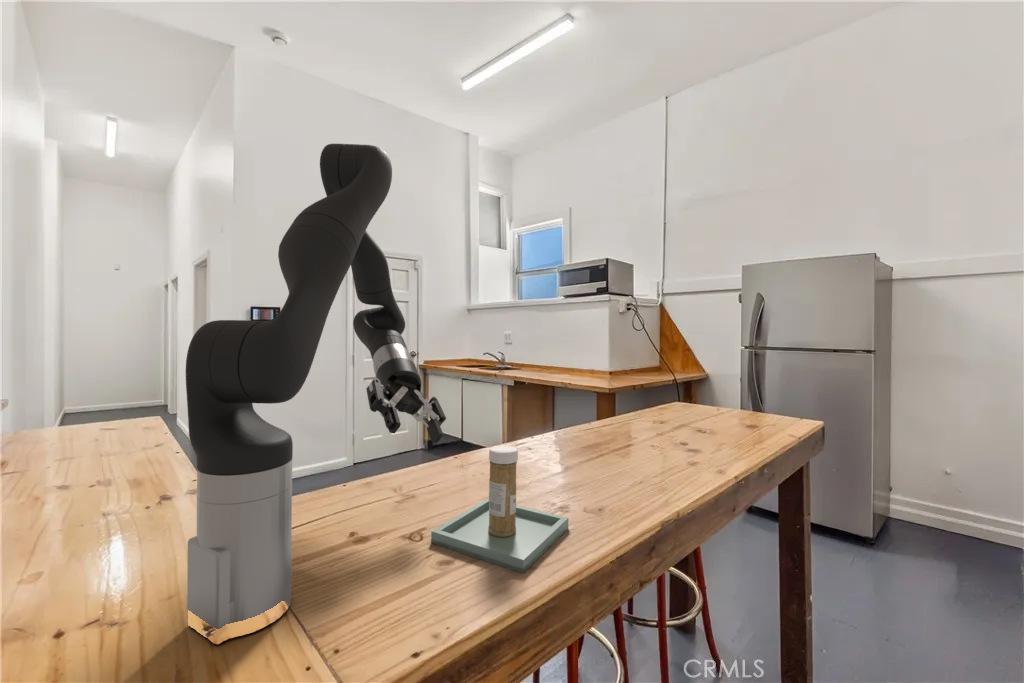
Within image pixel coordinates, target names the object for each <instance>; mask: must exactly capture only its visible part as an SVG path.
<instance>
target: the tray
mask: <svg viewBox="0 0 1024 683" xmlns="http://www.w3.org/2000/svg"><path fill="white" fill-rule="evenodd" d="M515 518H516V523H515V525H516V532H515V533H514V534H513V535H511V536H507V537H498V536H494V535H492V534H490V533H489V531H488V527H489V497H487V498H485V499H483V500H482V501H480V502H478V503H477V504H475V505H474V506H472V507H470V508H468V509H466V510H465V511H463V512H462V513H460V514H458V515H457V516H455V517H453V518H451V519H450V520H448V521H447V522H444V523H443V524H441V525H439V526H438V527H436V528H434V529H433V530H431V534H430V537H431V538H430V541H431V542H430V543H431V544H434V545H437V546H439V547H442V548H445V549H449V550H452V551H454V552H457V553H461V554H464V555H467V556H470V557H472V558H476V559H479V560H482V561H485V562H489V563H490V564H495V565H497V566H500V567H504V568H506V569H510V570H512V571H515V572H519V573H522V574H524V573H525V572H526V571H527V570H528V569H529V568H530V567H531V566H533V564H534V563H535V562H537V560H538V559H539V558H540V557H541V556H542V555H543V554H544V553H545V552H546V551H547V550H549V548H551V546H552V545H554V543H555V542H556V541H557V540H558V539H559V538H560V537H561V536H562V535H564V533H566V531H567V530H568V529H569V517H567V516H563V515H559V514H556V513H555V514H554V513H550V512H547V511H541V510H537V509H534V508H532V507H531V508H530V507H526V506H522V505H518V504H516V517H515Z"/></svg>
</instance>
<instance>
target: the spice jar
mask: <svg viewBox="0 0 1024 683" xmlns="http://www.w3.org/2000/svg"><path fill="white" fill-rule="evenodd" d="M488 453H489V454H488V460H489V487H488V488H489V490H488V498H489V527H488V531H489V533H490V534H492V535H494V536H498V537H507V536H511V535H513V534H514V533H515V532H516V525H515V523H516V518H515V517H516V505H517V462H518V458H519V452H518V448H516V447H515V446H512V445H511V446H510V445H495V446H492V447H490V449H489V452H488Z"/></svg>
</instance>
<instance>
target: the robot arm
mask: <svg viewBox="0 0 1024 683" xmlns="http://www.w3.org/2000/svg"><path fill="white" fill-rule="evenodd" d="M319 172H320V177H321V178H320V179H321V182H322V186H323V188H324V191H325V195H326V196H325V197H323V198H321V199H319V200H316V201H315V202H314V203H312V204H310V205H308V206H307V207H306V208H304V209H303V210H302V211H300V213H299V214H297V216H296V217H295V219H294V220H293V222H292V223H291V225H290V226H289V228H288V229H287V230H286V232H285V234H284V235H283V237H282V239H281V240H280V243H279V245H278V254H277V256H278V263H279V268H280V270H281V273H282V276H283V278H284V281H285V283H286V286H287V289H288V294H287V295H288V296H287V298H286V301H285V302H284V305H283V306H282V308H281V309H280V310H279V312H278V314H277V315H276V316H275V317H274V318H272V319H270V320H252V319H251V320H250V319H249V320H248V319H247V320H246V319H245V320H243V319H237V320H236V319H221V320H220V319H219V320H218V319H217V320H211V321H209V322H207V323H204V324H203V325H202V326H201V327H200V328H198V329H197V330H196V331H195V333H194V334H193V337H191V340H190V342H189V346H188V349H187V353H186V360H185V361H186V362H185V388H186V389H185V390H186V406H187V421H188V422H187V423H188V436H189V441H190V442H189V443H190V444H191V446H192V447H191V448H192V449H193V451H194V453H195V456H196V536H194V537H191V538H189V539H188V540H187V559H186V560H187V561H186V562H187V580H186V581H187V583H186V584H187V585H186V586H187V587H186V588H187V589H186V592H187V593H186V598H187V600H186V601H187V604H186V610H187V609H188V610H189V611H191V612H192V613H193V614H195V615H196V616H198V617H199V618H200V619H202V620H203V621H205V622H206V623H208V624H209V625H211V626H213V627H214V628H216V629H220V628H222V627H223V626H225V625H226V624H230V623H234V622H238V621H243V620H246V619H248V618H252V617H255V616H257V615H260V614H261V613H264V612H265V611H267V610H269V609H271V608H273V607H274V606H276V605H277V604H278V603H280V602H281V601H286V602H287V603H288V605H289V606H290V607H291V603H292V544H293V543H292V538H293V537H292V535H293V533H292V530H293V528H292V527H293V526H292V522H293V517H292V516H293V513H292V512H293V454H294V453H293V449H294V448H293V446H294V445H293V438H292V435H290V433H289V432H287V431H286V430H284V429H282V428H280V427H277V426H275V425H273V424H272V423H269V421H266V420H265V419H263V418H262V417H261V416H260V415H259V414H258V413H257V411H255V408H254V405H253V404H281V403H286V402H288V401H290V400H292V399H293V398H295V396H296V395H297V394H298V393H299V392H300V391H301V389H302V388H303V386H304V384H305V383H306V380H307V377H308V376H309V373H310V370H311V368H312V365H313V362H314V359H315V356H316V352H317V350H318V347H319V344H320V340H321V337H322V333H323V332H324V328H325V325H326V322H327V318H328V316H329V313H330V310H331V307H332V306H333V303H334V301H335V298H336V296H337V295H338V291H339V289H340V287H341V285H342V283H343V281H344V279H345V277H346V275H347V273H348V271H349V269H350V268H351V274H352V279H353V283H354V288H355V293H356V297H357V299H358V300H359V301H360V302H361V303H362V304H365V305H369V306H379V307H374V308H373V307H372V308H367V309H363V310H360V311H358V312H357V313H356V314H355V315H354V318H353V322H352V325H353V330H354V332H355V334H356V336H357V338H358V339H359V341H360V342H361V343H362V344H363V345H364V346H365V347H366V349H367V350H368V351H369V352H370V356H371V359H372V366H373V371H374V375H375V377H374V378H373V379H372V380H371V382H370V383H369V385H368V386H367V387H366V395H367V400H368V405H369V410H370V411H371V412H373V413H376V412H379V414H380V416H381V417H382V418H383V421H384V425H385V427H386V429H388V432H389V433H391V434H395V433H396V432H397V431H398V430H399V429H400V427H401V424H402V423H401V421H400V416H399V413H398V412H401V413H406V414H408V415H411V416H412V417H413V418H414V419H415V420H416V421H417V422H421V423H422V424H423V425H424V426H425V427H426V430H427V433H428V436H429V439H430V441H431V443H433V444H438V442H439V441H440V440H441V439H442V438H443V436H444V433H443V430H442V428H441V426H442V425H443V423H444V422H445V421H446V420H447V417H446V415H445V412H444V411H443V409H442V406H441V404H440V402H439V400H438V398H437V397H436V396H432V397H431V398H427V397H425V395H424V394H423V392H422V391H421V390H422V379H421V376H420V374H419V372H418V369H417V367H416V364H415V362H414V358H413V357H412V354H411V353H410V352H409V350H408V347H407V345H406V342H405V339H404V338H403V336H402V334H403V333H404V331H405V330H406V329H405V328H406V320H405V317H404V315H403V313H402V310H401V309H400V307H399V305H398V304H397V301H396V299H395V296H394V292H393V288H392V283H391V282H392V281H391V275H390V269H389V263H388V261H387V258H386V256H385V253H384V252H383V250H382V249H381V247H380V246H379V244H378V243H377V242H376V241H375V239H374V238H373V236H371V234H370V233H369V232H368V230H367V228H368V226H369V225H370V223H371V222H372V219H373V218H374V217H375V215H376V214H377V212H378V211H379V209H380V208H381V206H382V204H383V203H384V202H385V200H386V198H387V197H388V194H389V191H390V189H391V184H392V179H393V166H392V162H391V159H390V157H389V155H388V153H387V152H386V151H385V150H384V149H382V148H381V147H379V146H377V145H372V144H357V143H355V144H354V143H329V144H327V145H325V146H324V147H323V149H322V151H321V154H320V157H319ZM385 400H386V401H387V402H386V401H385ZM422 407H423V411H421V413H420V414H419V413H418V412H419V411H420V410H421V409H422ZM427 415H428V417H429V419H428V418H427Z"/></svg>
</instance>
